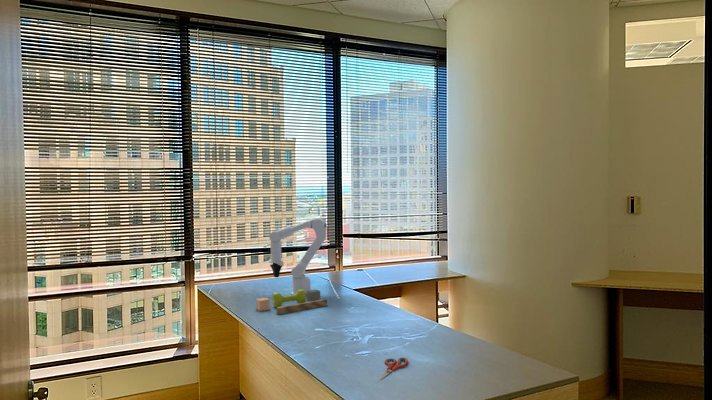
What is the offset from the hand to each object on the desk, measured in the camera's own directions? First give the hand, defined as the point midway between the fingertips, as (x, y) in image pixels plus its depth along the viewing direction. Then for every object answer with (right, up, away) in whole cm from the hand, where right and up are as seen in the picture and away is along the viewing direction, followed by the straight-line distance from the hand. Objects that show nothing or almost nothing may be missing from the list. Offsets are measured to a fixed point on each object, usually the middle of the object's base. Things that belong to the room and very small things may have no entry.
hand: (276, 277), depth 274 cm
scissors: (+55, -11, -121) cm, 133 cm away
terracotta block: (-1, -10, -34) cm, 35 cm away
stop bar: (+19, -10, -38) cm, 43 cm away
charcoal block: (+22, -9, -19) cm, 31 cm away
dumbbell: (+11, -10, -27) cm, 31 cm away
